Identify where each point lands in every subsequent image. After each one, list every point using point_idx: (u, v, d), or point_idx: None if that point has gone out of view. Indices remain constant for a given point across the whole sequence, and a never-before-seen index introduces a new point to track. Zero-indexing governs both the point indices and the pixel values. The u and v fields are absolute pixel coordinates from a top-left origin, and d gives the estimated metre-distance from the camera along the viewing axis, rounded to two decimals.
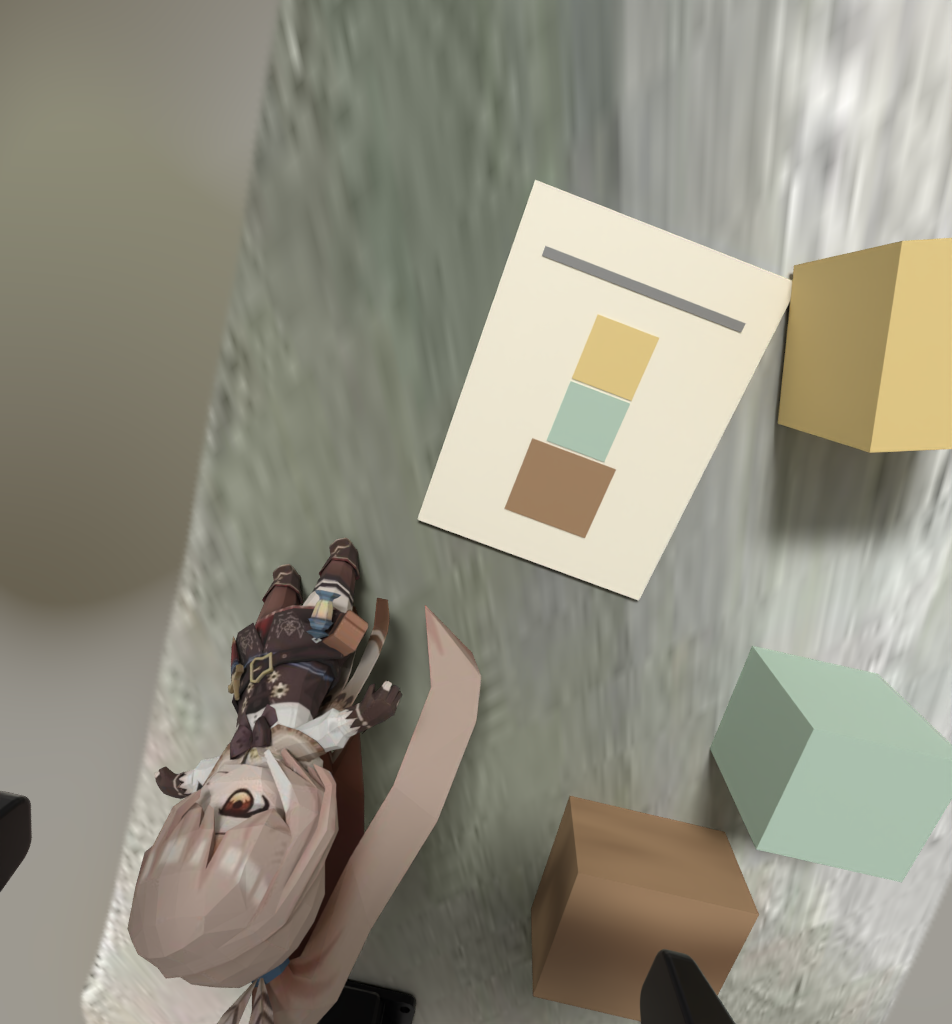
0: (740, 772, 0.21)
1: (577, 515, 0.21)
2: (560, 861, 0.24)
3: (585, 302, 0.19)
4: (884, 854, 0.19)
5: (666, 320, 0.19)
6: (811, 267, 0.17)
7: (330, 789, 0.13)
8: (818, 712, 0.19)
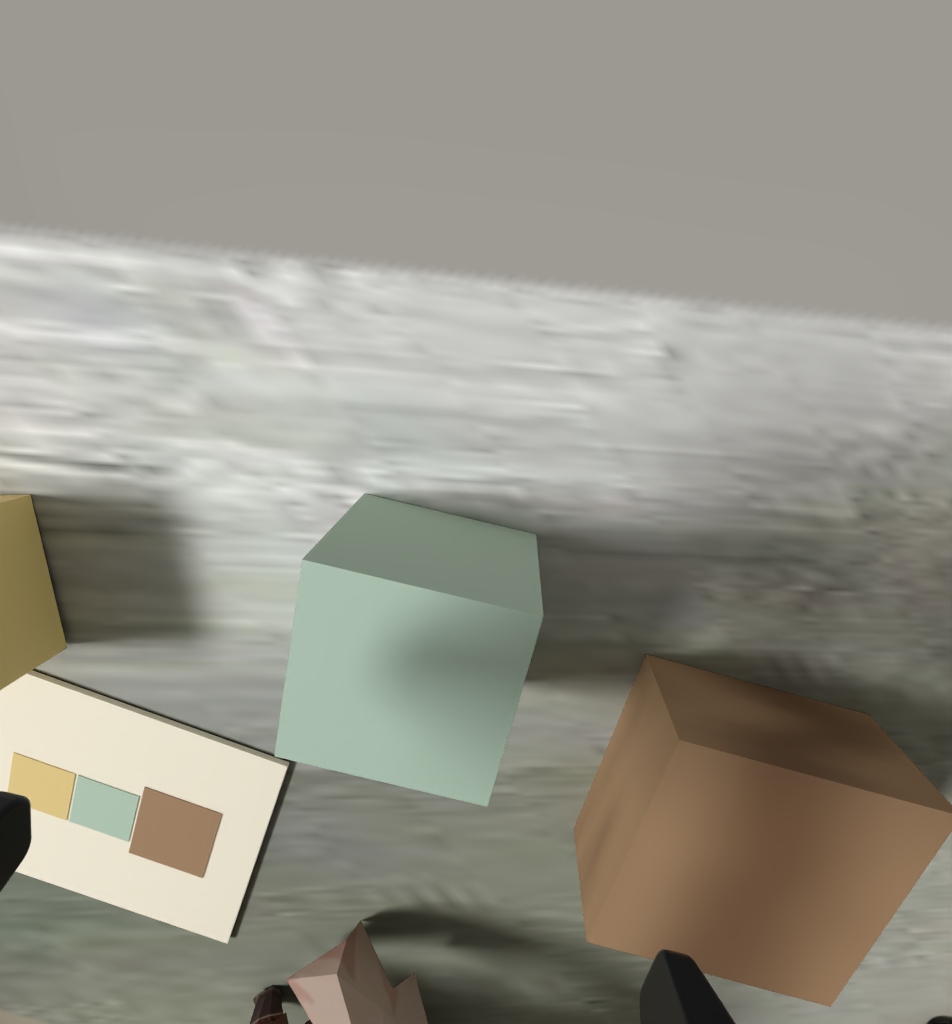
0: None
1: (199, 819, 0.20)
2: None
3: None
4: (486, 648, 0.12)
5: None
6: None
7: None
8: None
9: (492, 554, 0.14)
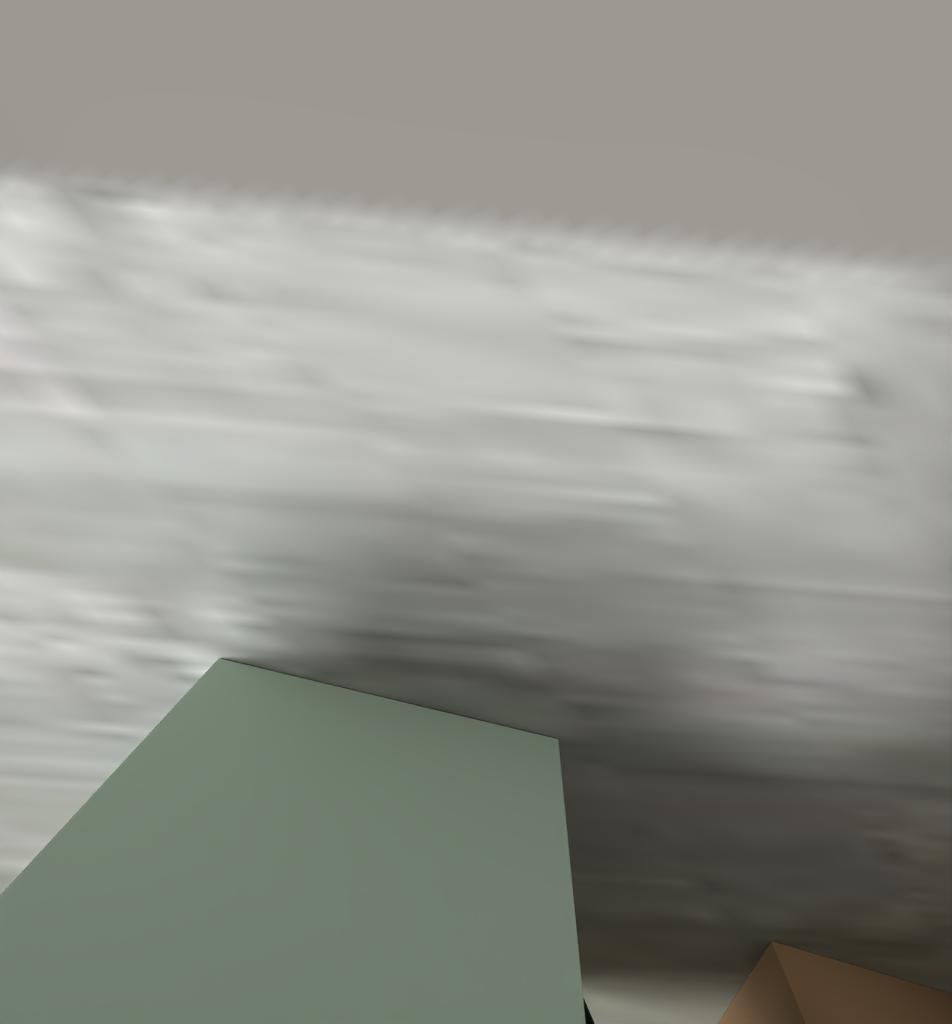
0: None
1: None
2: None
3: None
4: None
5: None
6: None
7: None
8: None
9: (463, 864, 0.06)
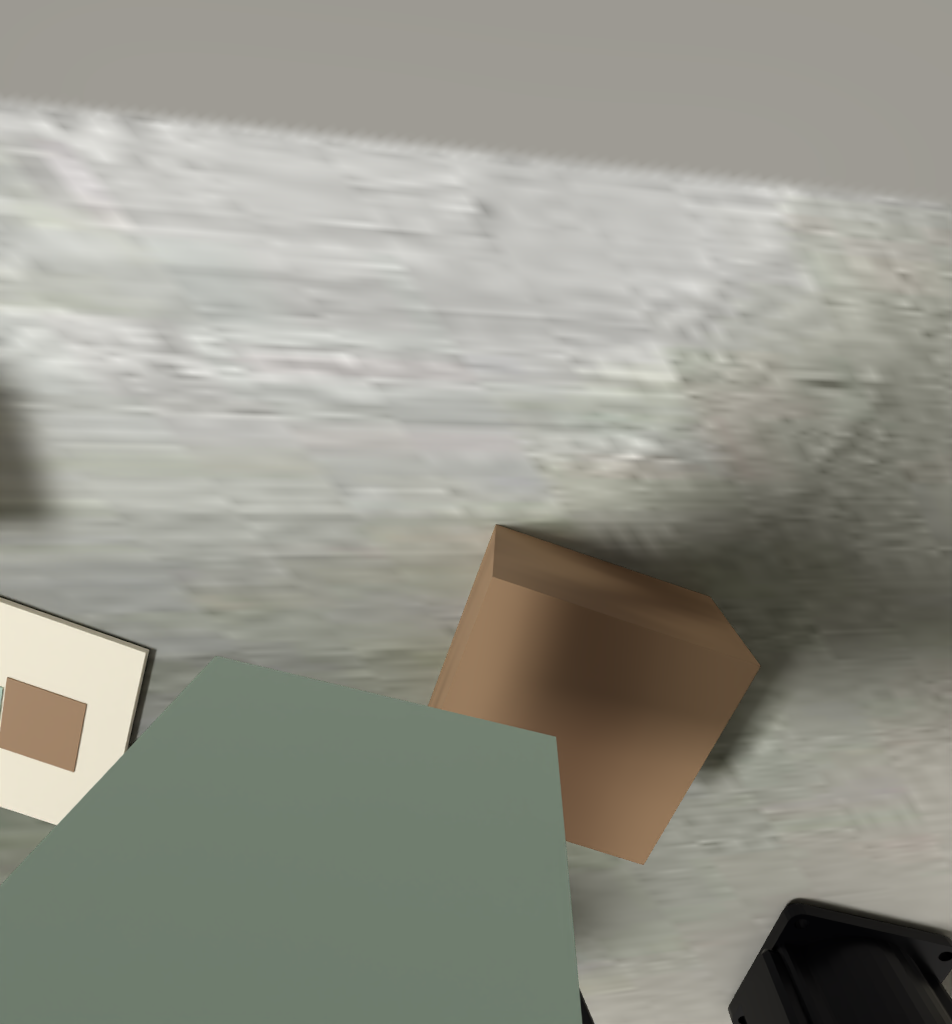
0: None
1: (64, 710, 0.20)
2: None
3: None
4: None
5: None
6: None
7: None
8: None
9: (459, 862, 0.06)
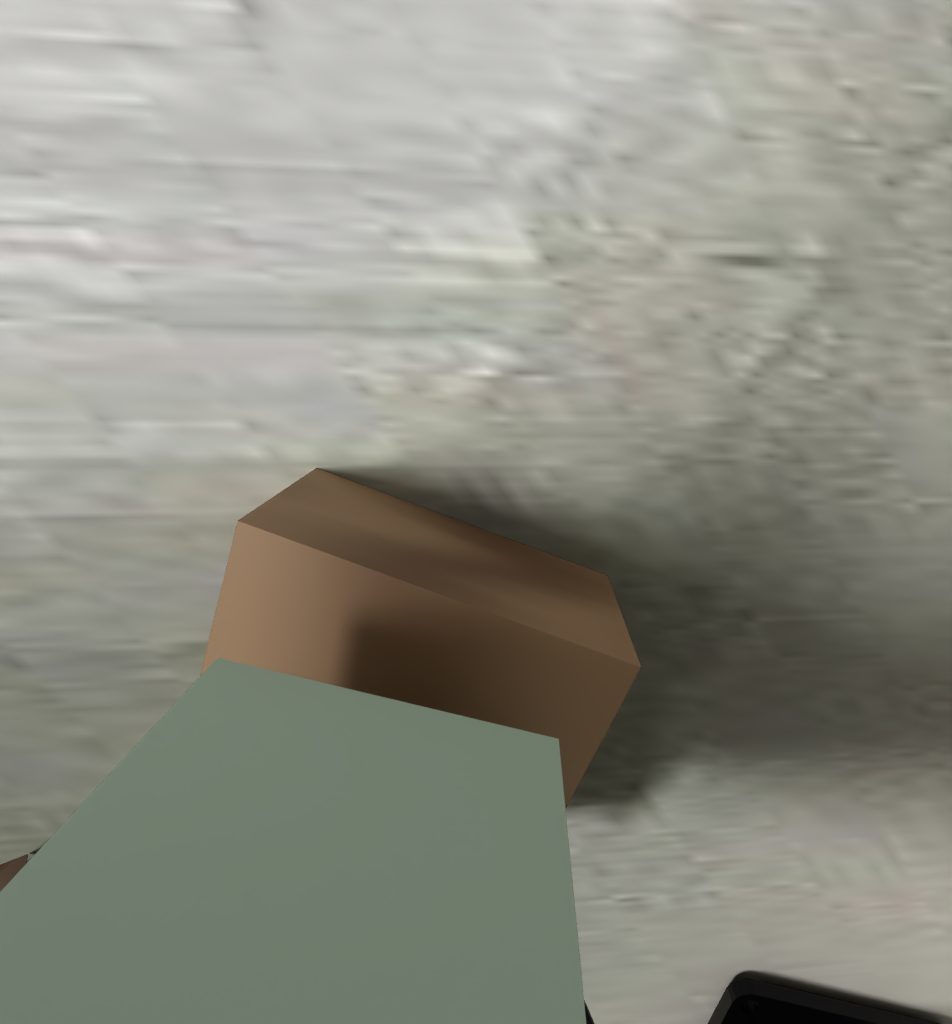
0: None
1: None
2: None
3: None
4: None
5: None
6: None
7: None
8: None
9: (463, 865, 0.06)
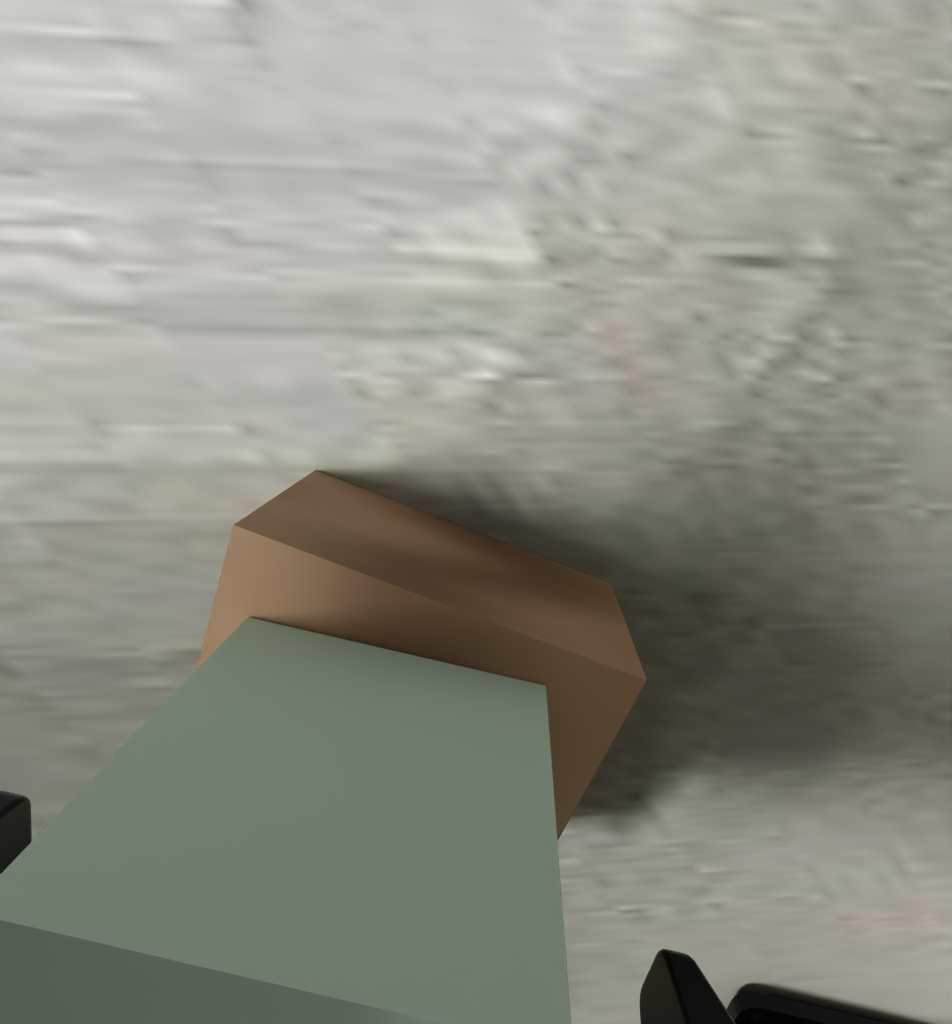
0: None
1: None
2: None
3: None
4: None
5: None
6: None
7: None
8: None
9: (461, 775, 0.07)
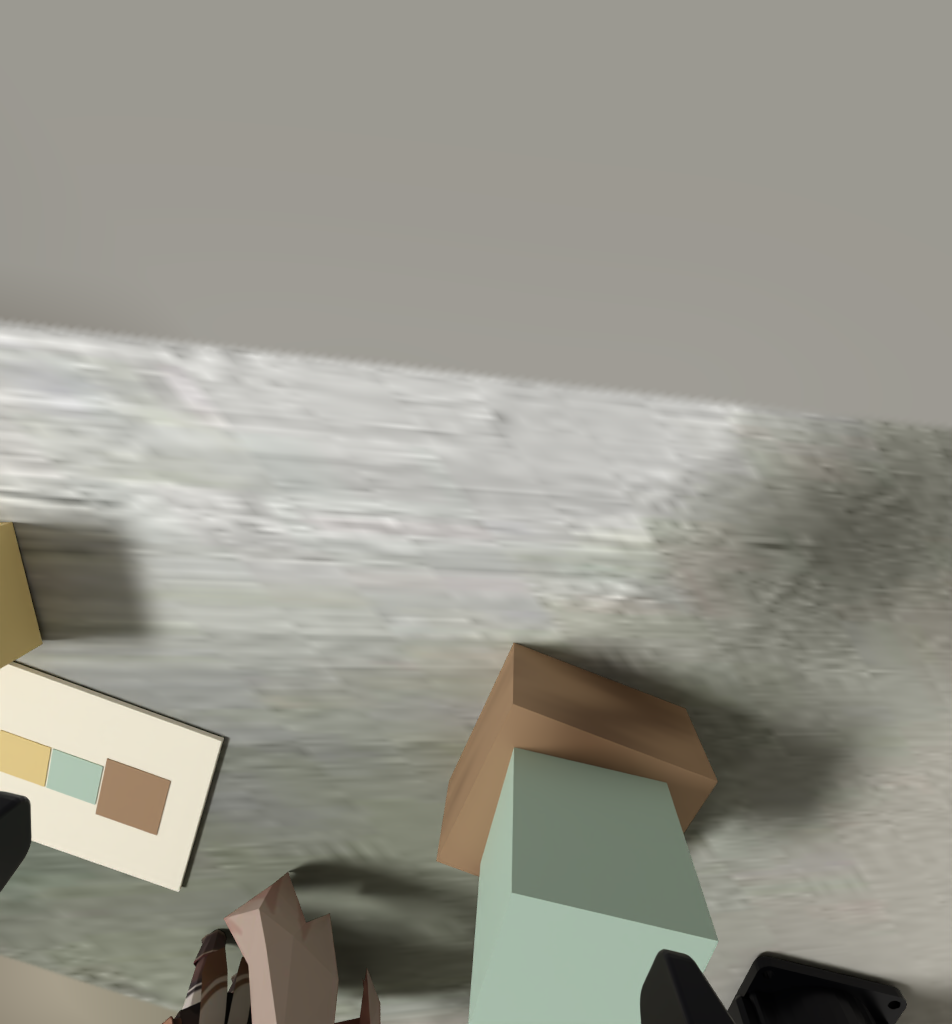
0: None
1: (152, 785, 0.24)
2: None
3: None
4: None
5: None
6: None
7: None
8: (476, 971, 0.16)
9: (646, 835, 0.16)
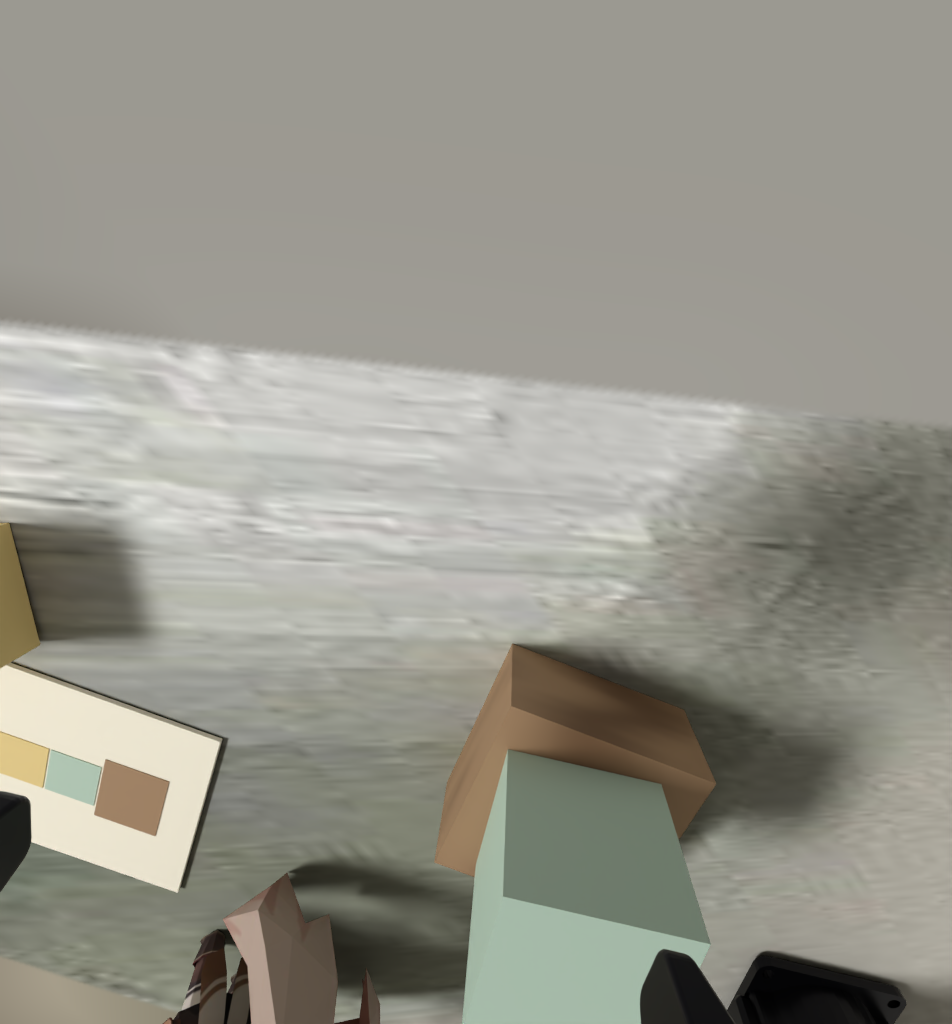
0: None
1: (150, 786, 0.24)
2: None
3: None
4: None
5: None
6: None
7: None
8: (469, 974, 0.16)
9: (639, 838, 0.16)
